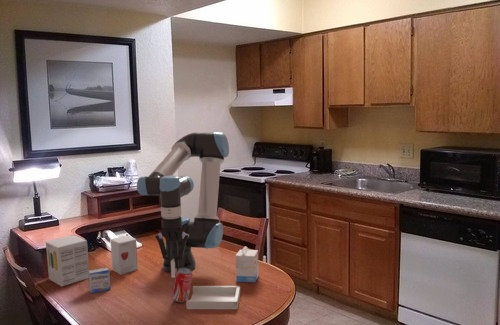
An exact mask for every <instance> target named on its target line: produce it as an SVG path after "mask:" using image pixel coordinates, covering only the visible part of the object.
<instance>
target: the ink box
mask: <svg viewBox="0 0 500 325" xmlns="http://www.w3.org/2000/svg"><path fill="white" fill-rule="evenodd" d="M235 271H236V272H235V276H236V277H235V278H236V282H240V283H257V282H256V281H257V279H258V278H259V275H260V274H259V271H260V270H259V250H258V249H249V248H248V247H247V246H244V247H243V248H242V249H239V250H238V251H237V253H236V254H235Z"/></svg>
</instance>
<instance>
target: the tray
mask: <svg viewBox="0 0 500 325" xmlns="http://www.w3.org/2000/svg"><path fill="white" fill-rule="evenodd" d="M240 296H241V285H193V286H192V294H191V298H190V299H188V300H187V301H185V305H186V310H238V307H239V302H240Z"/></svg>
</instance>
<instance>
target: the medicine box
mask: <svg viewBox="0 0 500 325" xmlns="http://www.w3.org/2000/svg"><path fill="white" fill-rule="evenodd" d="M110 274H111V273H110V269H109V267H102V268H96V269H89V271H88V275H89V278H88V285H89V286H88V287H89V288H88V289H89V292H90V294H96V293H100V292H106V291H110V290H111V277H110V276H111V275H110Z"/></svg>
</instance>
